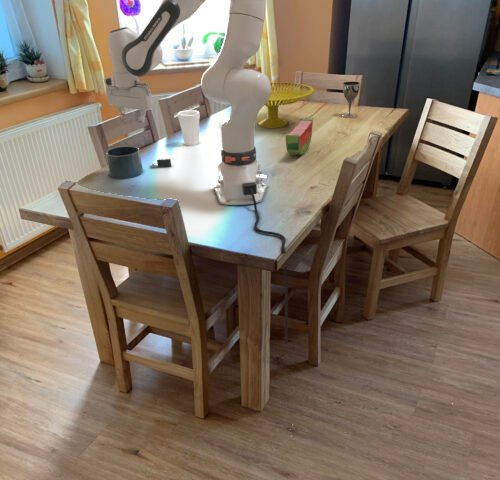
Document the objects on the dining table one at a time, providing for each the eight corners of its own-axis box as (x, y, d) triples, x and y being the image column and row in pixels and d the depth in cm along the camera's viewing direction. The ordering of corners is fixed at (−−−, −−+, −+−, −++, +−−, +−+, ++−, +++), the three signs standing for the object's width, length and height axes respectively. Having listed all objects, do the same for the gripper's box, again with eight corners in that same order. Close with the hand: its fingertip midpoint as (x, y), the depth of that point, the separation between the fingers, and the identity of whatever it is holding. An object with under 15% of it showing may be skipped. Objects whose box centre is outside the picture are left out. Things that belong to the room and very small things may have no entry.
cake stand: (310, 135, 234) (311, 100, 225) (224, 135, 241) (221, 100, 232) (317, 113, 266) (318, 81, 257) (240, 113, 273) (239, 82, 264)
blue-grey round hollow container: (140, 177, 198) (136, 155, 193) (106, 179, 198) (102, 157, 193) (145, 166, 208) (141, 145, 203) (113, 168, 208) (109, 146, 203)
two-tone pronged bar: (171, 164, 209) (170, 157, 207) (170, 167, 207) (169, 159, 205) (151, 165, 209) (150, 158, 207) (150, 168, 207) (149, 160, 205)
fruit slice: (299, 141, 228) (300, 117, 222) (313, 142, 226) (314, 118, 220) (284, 160, 208) (284, 135, 202) (299, 161, 206) (300, 135, 200)
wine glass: (338, 115, 262) (340, 82, 253) (351, 112, 264) (353, 80, 255) (346, 118, 256) (349, 85, 247) (360, 116, 258) (363, 83, 250)
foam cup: (177, 145, 231) (173, 114, 223) (188, 139, 237) (185, 109, 229) (194, 147, 227) (191, 116, 219) (205, 141, 233) (203, 111, 226)
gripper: (154, 80, 182) (159, 121, 190) (113, 76, 192) (119, 115, 200) (141, 83, 178) (147, 125, 186) (100, 79, 188) (107, 119, 196)
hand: (133, 120), depth 193 cm, fingers open, 8 cm apart
